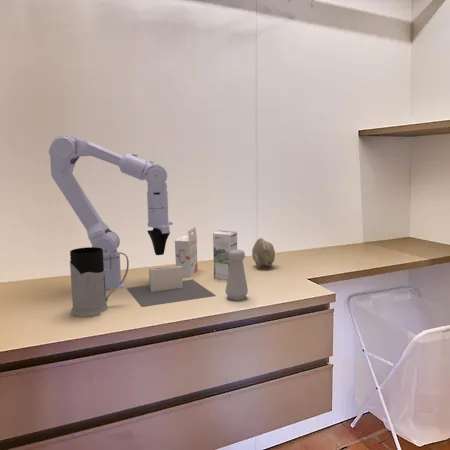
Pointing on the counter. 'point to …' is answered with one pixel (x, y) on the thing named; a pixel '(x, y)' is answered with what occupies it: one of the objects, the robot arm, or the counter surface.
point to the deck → (165, 278)
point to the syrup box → (223, 252)
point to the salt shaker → (236, 276)
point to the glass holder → (89, 281)
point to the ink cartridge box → (187, 253)
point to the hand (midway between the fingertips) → (159, 254)
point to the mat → (169, 294)
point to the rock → (263, 253)
